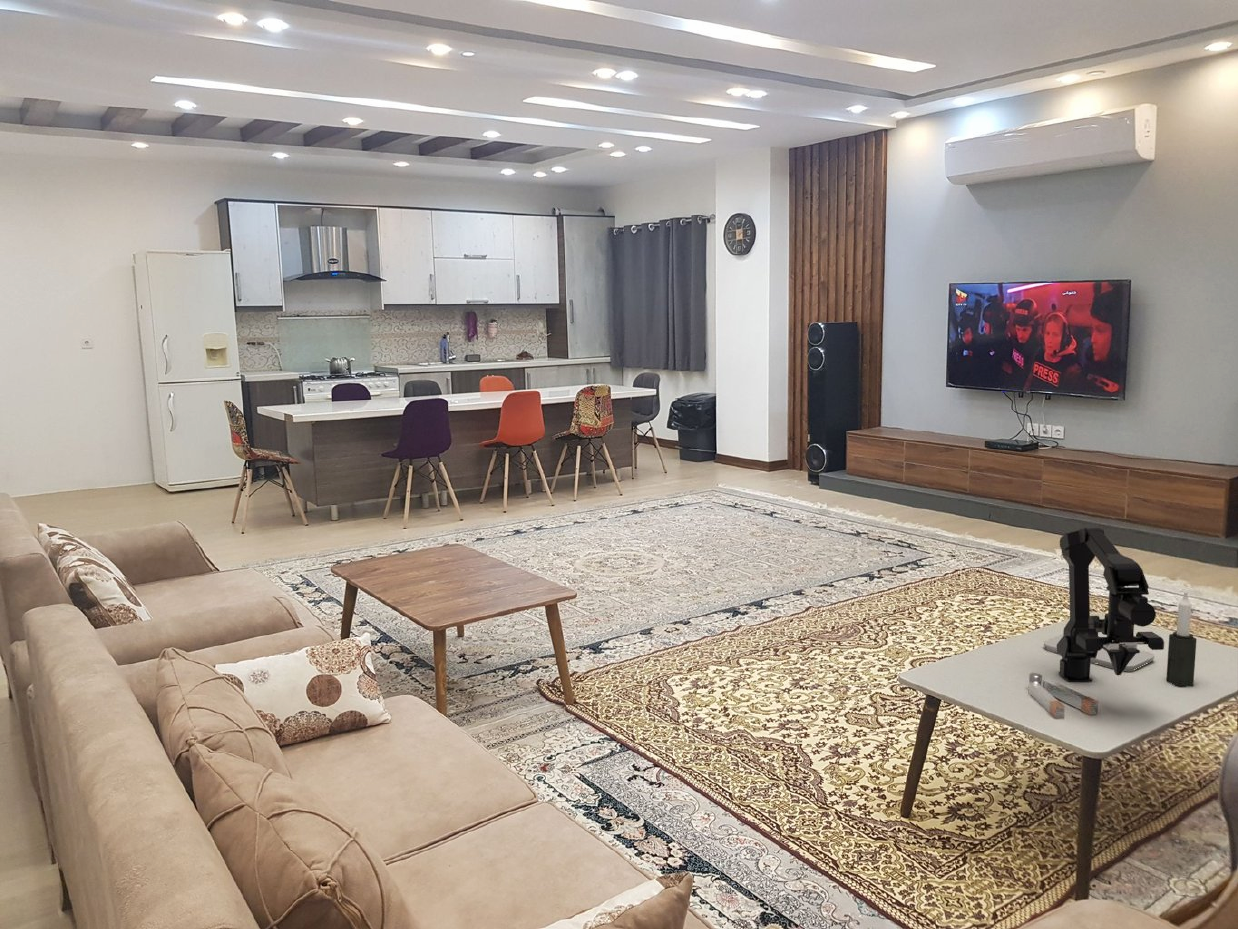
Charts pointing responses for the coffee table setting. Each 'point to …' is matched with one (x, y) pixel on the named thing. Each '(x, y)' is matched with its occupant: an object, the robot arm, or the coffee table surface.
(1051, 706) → the base
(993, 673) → the coffee table surface
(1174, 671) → the candle
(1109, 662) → the tablet
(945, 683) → the coffee table surface
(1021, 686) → the coffee table surface
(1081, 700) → the tongs arm
